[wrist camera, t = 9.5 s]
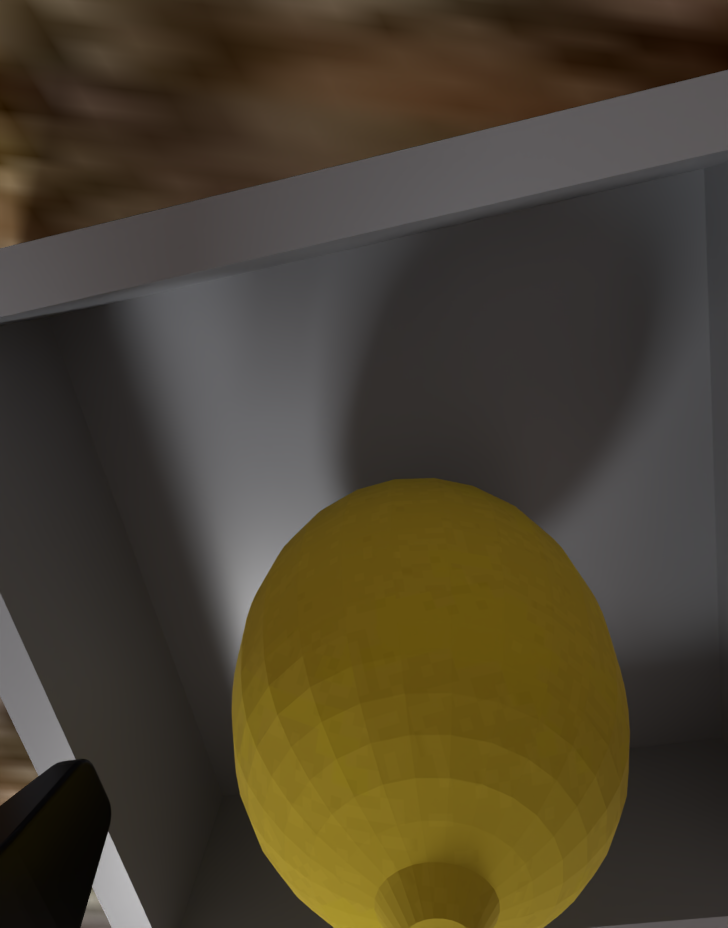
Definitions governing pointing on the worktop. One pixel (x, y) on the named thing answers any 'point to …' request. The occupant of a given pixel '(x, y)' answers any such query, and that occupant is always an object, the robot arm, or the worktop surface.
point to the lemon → (429, 714)
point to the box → (373, 463)
